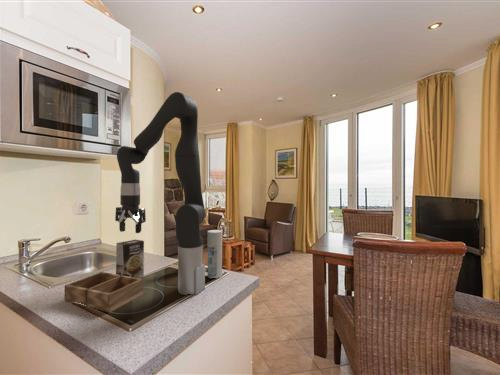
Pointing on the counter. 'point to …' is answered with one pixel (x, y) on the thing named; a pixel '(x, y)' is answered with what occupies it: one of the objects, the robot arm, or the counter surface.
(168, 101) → the robot arm
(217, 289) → the counter surface
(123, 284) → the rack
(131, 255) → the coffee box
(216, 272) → the spray can
